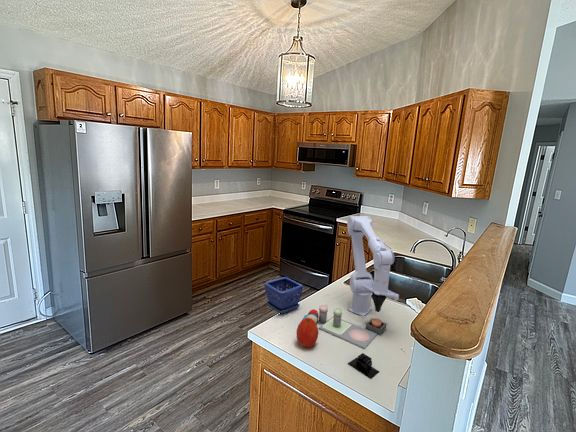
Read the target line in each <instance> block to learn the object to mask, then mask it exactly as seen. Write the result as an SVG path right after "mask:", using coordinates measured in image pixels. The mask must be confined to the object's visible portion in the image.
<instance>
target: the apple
mask: <svg viewBox="0 0 576 432" xmlns="http://www.w3.org/2000/svg"><path fill="white" fill-rule="evenodd" d="M303 318H304V317H303ZM303 318H302V319H301V321H300V322H299V324H298V325H297V328H296V340H297V342H298V343H299V344H300V345H301V347H303V348H311V347H313V346H314V345H315V344H316V343H317V341H318V337H319V327H318V325H317V323H315V322H314V320H313V319H311V318H304V319H303Z"/></svg>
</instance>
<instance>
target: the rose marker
mask: <svg viewBox="0 0 576 432" xmlns="http://www.w3.org/2000/svg"><path fill="white" fill-rule="evenodd" d="M328 308H329V307H328V306H327V305H325V304H321V305H319V307H318V310H319V312H318V315H319V318H318V323H319V324H321V325H323V324H324V323H325V322H327V319H328V318H327V315H328Z"/></svg>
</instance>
